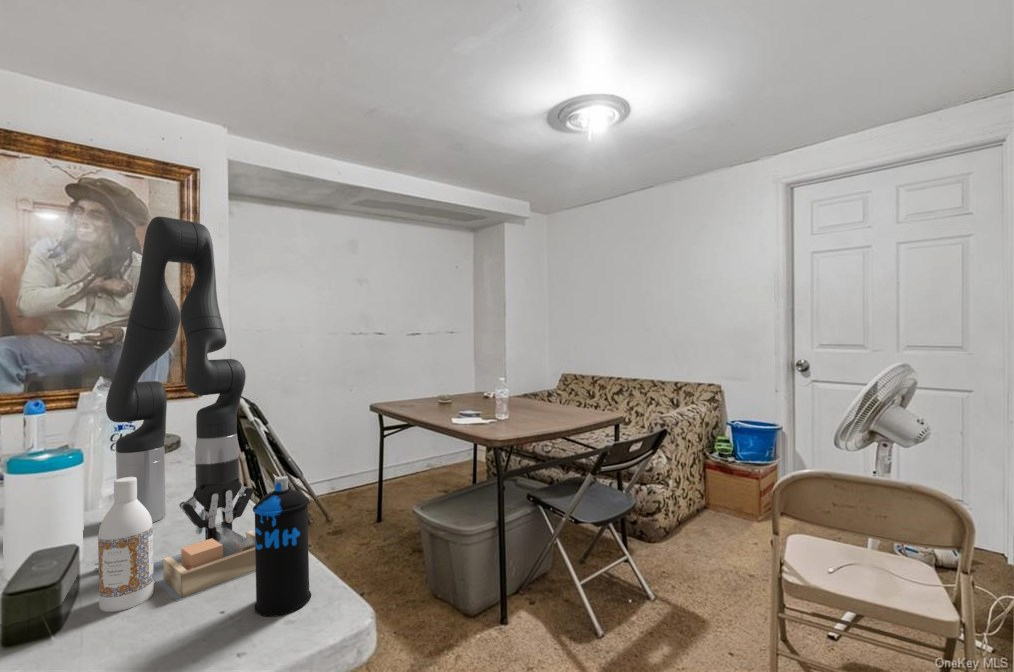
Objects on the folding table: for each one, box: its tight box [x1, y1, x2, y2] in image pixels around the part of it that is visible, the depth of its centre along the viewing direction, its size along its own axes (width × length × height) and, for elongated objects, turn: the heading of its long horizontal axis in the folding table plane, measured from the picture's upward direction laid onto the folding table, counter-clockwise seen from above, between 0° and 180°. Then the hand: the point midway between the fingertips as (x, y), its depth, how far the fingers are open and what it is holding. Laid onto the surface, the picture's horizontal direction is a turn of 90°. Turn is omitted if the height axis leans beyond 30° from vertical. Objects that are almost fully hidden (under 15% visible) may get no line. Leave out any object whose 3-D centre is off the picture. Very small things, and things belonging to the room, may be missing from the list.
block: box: [180, 538, 223, 570], centre depth 85 cm, size 5×5×5 cm
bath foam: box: [97, 477, 155, 613], centre depth 77 cm, size 7×7×20 cm
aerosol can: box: [252, 475, 312, 617], centre depth 76 cm, size 8×8×20 cm
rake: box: [192, 522, 254, 569], centre depth 89 cm, size 16×10×4 cm, turn 51°
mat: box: [153, 553, 256, 603], centre depth 89 cm, size 20×17×1 cm
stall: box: [162, 530, 256, 598], centre depth 86 cm, size 10×15×4 cm, turn 141°
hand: (219, 542), depth 96 cm, fingers closed on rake, 2 cm apart
